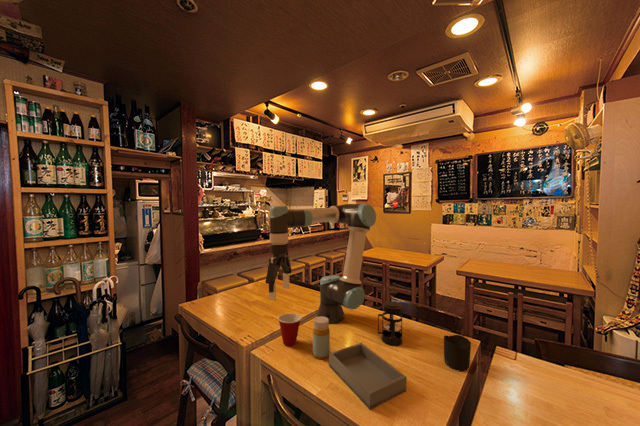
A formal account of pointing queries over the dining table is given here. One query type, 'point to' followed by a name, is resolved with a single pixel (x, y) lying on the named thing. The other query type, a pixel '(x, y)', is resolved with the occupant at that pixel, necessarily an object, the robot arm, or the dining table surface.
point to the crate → (367, 374)
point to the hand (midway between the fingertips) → (279, 293)
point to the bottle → (321, 337)
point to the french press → (391, 323)
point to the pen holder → (457, 352)
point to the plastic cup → (289, 328)
